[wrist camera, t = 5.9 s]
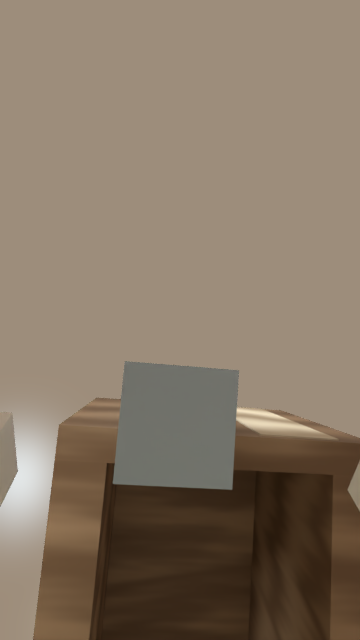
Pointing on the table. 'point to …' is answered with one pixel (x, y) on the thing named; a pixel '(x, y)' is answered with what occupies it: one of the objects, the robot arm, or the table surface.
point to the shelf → (203, 539)
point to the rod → (176, 426)
